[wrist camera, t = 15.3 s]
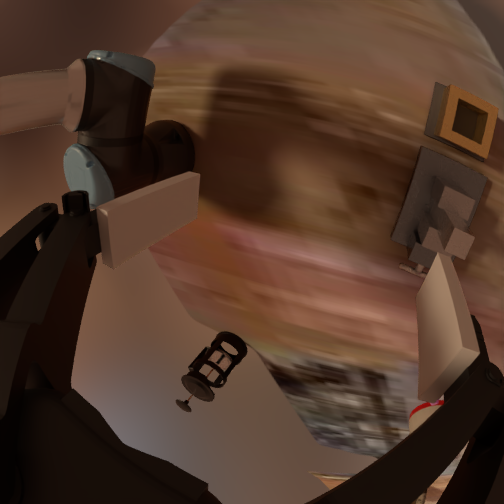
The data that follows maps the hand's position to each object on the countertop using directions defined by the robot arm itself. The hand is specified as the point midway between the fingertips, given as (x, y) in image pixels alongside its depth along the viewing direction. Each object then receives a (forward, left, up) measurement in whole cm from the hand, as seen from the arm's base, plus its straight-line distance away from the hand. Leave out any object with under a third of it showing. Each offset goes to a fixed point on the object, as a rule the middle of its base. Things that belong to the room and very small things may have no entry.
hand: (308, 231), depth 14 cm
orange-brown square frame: (+14, +12, -33) cm, 38 cm away
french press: (-16, -54, -34) cm, 66 cm away
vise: (+15, -4, -34) cm, 37 cm away
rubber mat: (+14, +12, -34) cm, 39 cm away
